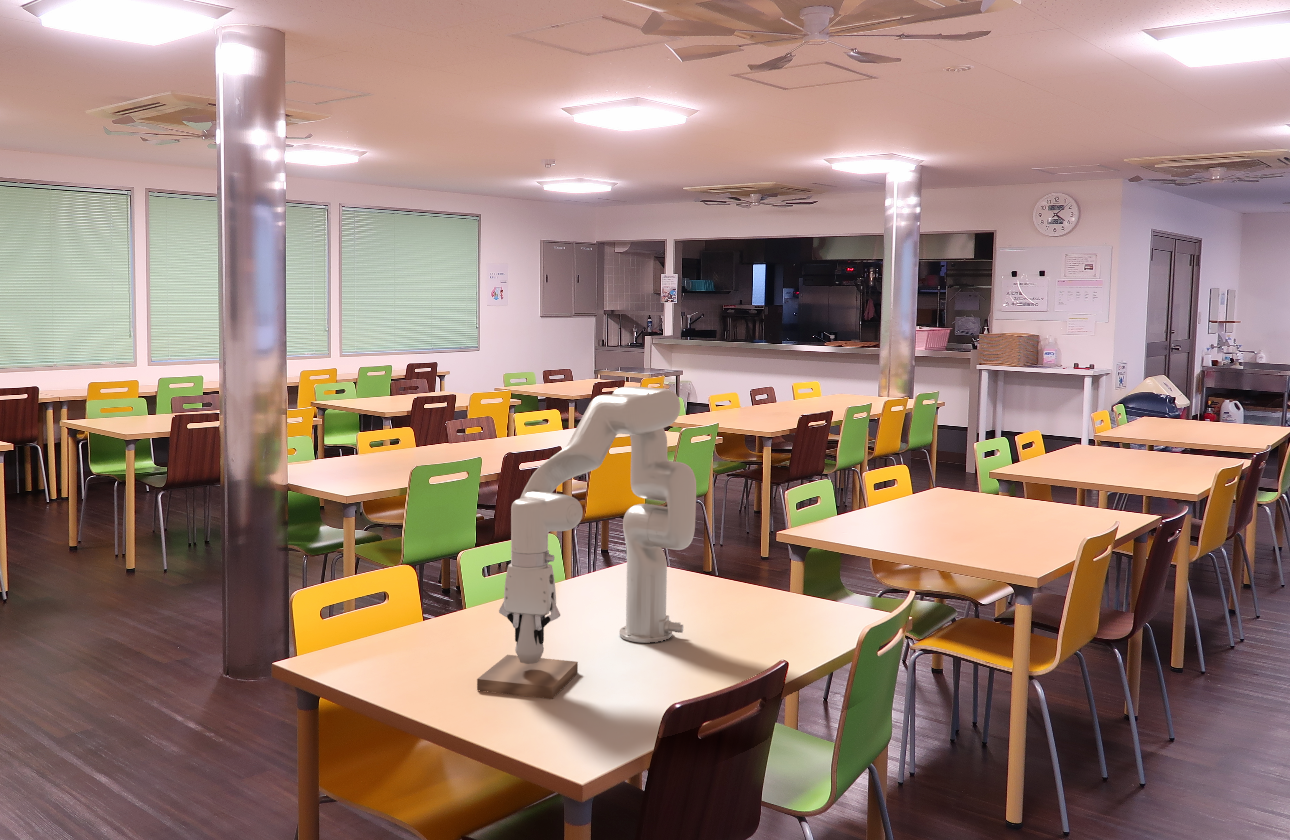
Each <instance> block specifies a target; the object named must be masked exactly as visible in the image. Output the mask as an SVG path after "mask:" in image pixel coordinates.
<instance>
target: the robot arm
mask: <svg viewBox="0 0 1290 840" xmlns="http://www.w3.org/2000/svg"><path fill="white" fill-rule="evenodd" d="M680 412H681V402H680V399H679V396H678V395H677V393H675V392H674V391H672V390H671V389H667V388H661V387H646V386H644V387H643V386H622V387H618V388H616V389H615V390H614V391H613V392H612V394H602V395H601V394H599V395H597V396H595V397H594V398H593V399H592V400H591V401H590V402H589V404H588V406H587V408H586V409H585V412H584V413H583V415H582V417H581V419H580V421H579V423H578V424H577V426H576V428H575V430H574V432H573V434H572V436H571V437H570V440H569V442H568V443H567V444H566V446H565V447H564V448H563V449H561V450H560V451H558V452H557V453H555V454H554V455H552V456H551V457H550V458H549V459H547V460H546V461H545V462H544V463H542V464H541V465H540V466H539V467H538V468H537V469H536V470H535V471H534V472H533V473H532V475H531V476H530V478H529V479H528V482H527V483H526V485H525V486H524V489H523V491H522V492H521V495H520V497H519V498H517V499H515V500H514V501H513V502H512V503H511V507H510V509H511V510H510V514H511V515H510V532H511V533H510V534H511V535H510V546H511V547H510V563H509V564H508V565H507V570H506V573H505V574H506V577H505V582H504V593H503V601H502V604H501V605H500V608H499V609H498V613H499V614H500V615H502V616H504V618H507V619H508V621H510V623H511V625H512V627H513V629H514V641H515V643H516V644H517V643H518V639H519V633H520V624H521V619H522V614H527V615H535V623H536V629H537V630H534V638H535V642H536V645H537V637H538V639H539V643H540V644H543V645H544V640H545V636H544V635H545V627H546V626H547V625H548V624H549V623H551V622H553V621H555V620H557V619H559V618H560V617H561V613H560V610H559V609H558V607H557V593H556V592H557V591H556V581H555V574H554V569H553V565H552V564H551V562H554V561H555V555H554V554H551V553H550V550H549V533H550V532H564V531H565V532H567V531H570V530H572V529H574V528H575V527H576V526H578V525H579V524H580V522H581V520H582V518H583V510H584V509H583V506H582V504H581V503H580V501H579V500H578V499H577V498H575V497H573V496H570V495H568V494H564V493H563V494H562V493H556V492H554V491H555V490H556V489H557V488H558V487H559V486H560V485H561V484H563V483H564V482H566V481H567V480H569V479H572V478H575V477H577V476H580V475H585V474H586V473H589V472H591V471H594V470H597V469H598V468H600V467H601V465H602V464H603V461H604V460H605V458H606V456H607V455H608V452H609V451H610V449H611V446H612V445H613V442H614V440H615V438H616V436H617V435H629V437H630V449H631V451H630V455H631V457H630V487H631V488H630V489H631V491H632V493H633V494H634V495H635V496H637V497H638V498H640V499H641V498H642V499H646V500H650V501H651V500H653V501H658V502H666V505H667V506H663V505H659V504H649V503H638V504H634V505H633V506H632V505H631V506H630V507H629V508H628V509H627V510H626V512H625V513H624V516H623V519H622V530H623V535H624V541H625V548H626V596H625V597H626V607H625V608H626V609H625V610H626V612H625V626H623V627H621V628H620V629H619V637H620V638H621V639H622V640H623V639H624V640H626V641H628V642H634V643H639V644H641V643H642V644H644V643H645V644H651V643H650V642H655V643H659V642H658V641H661V642H664V641H663V640H665V641H667V640H666V639H668V638H670V637H671V636H672V637H673V632H674V633H679V634H680V633H681V634H683V633H684V624H681V622H677V621H671V620H670V615H667V585H668V584H667V583H668V580H667V578H668V577H667V576H668V563H667V559H666V555H665V552H664V551H663V549H667V550H669V549H670V550H674V551H675V550H676V551H680V550H681V551H682V550H685V549H686V548H688V547H689V546H690V545H691V543H692V542H693V539H694V536H695V530H696V514H697V513H696V512H697V509H696V508H697V478H696V476H695V473H694V470H693V469H692V468H691V466H689V465H688V464H686V463H684V462H681V461H675V460H673V461H672V460H669V458H668V437H667V433H666V431H665V428H667V427H669V426H671V425H673V423H675V421H676V420H677V419H678V417H679V416H680ZM549 613H550V614H549ZM672 637H671V638H672ZM671 638H670V639H671ZM668 640H669V639H668Z"/></svg>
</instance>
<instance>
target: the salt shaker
mask: <svg viewBox="0 0 1290 840" xmlns="http://www.w3.org/2000/svg"><path fill="white" fill-rule="evenodd" d="M534 630H537V629H536V623H535V615H527V614H522V619H521V624H520V633H519V639H518V643H517V642H516V645H515V653H516V654H515V655H516V656H518V658H519V660H520V662H521V663H525V664H533V663H537V662H538V661H540V659H541V658H542V656H543V654H544V649H545V648H544V643H543V644H540V643H539V639H538V637H537V645H536V642H535V638H534Z"/></svg>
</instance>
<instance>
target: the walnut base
mask: <svg viewBox="0 0 1290 840" xmlns="http://www.w3.org/2000/svg"><path fill="white" fill-rule="evenodd" d="M578 663H579V661H574V660H564V659H555V658H543V657H541V659H540V661H538V662H537V663H533V664H525V663H521V662H520V660H519V658H518V655H517V654H515V655H513V654H507V655H505V656H504V657H502V659H500V660H499V661H498V662H497V663H495V664H494V665H493V666H491V667H490V668H489V669H487V670H486V671H485V672H484V673H482V675H480V676H479V677H478V678H477V679H476V688H477V689H476V691H477V690H480V691H479V692H483V691H486V692H485V693H492V692H496V693H495V694H501V693H503V694H502V695H509V696H510V695H511V696H512V695H513V696H521V697H530V698H539V699H548V700H553V699H555V697H556V696H557V695H558V694H559V693H560V692H561V691H562V690H563V689H564V687H566V686H567V684H569V682H571V681H572V680H573V679H574V678H575V677H576V676H577V674H578V673H579V672H578V671H579V670H578V667H579V666H578V665H579V664H578ZM487 691H488V692H487Z"/></svg>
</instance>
